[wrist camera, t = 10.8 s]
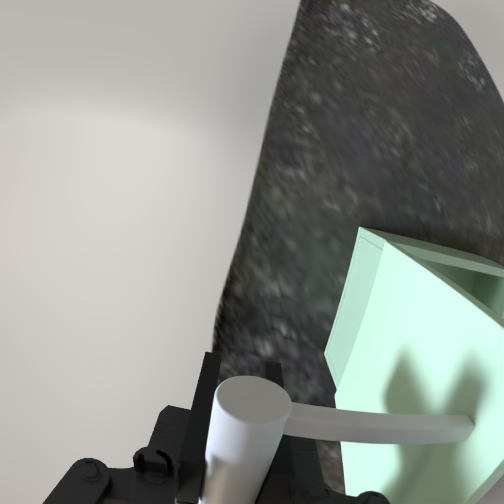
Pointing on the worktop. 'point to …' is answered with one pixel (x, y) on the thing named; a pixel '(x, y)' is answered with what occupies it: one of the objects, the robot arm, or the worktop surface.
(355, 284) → the green storage bin
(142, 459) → the robot arm
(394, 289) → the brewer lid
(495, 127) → the worktop surface
